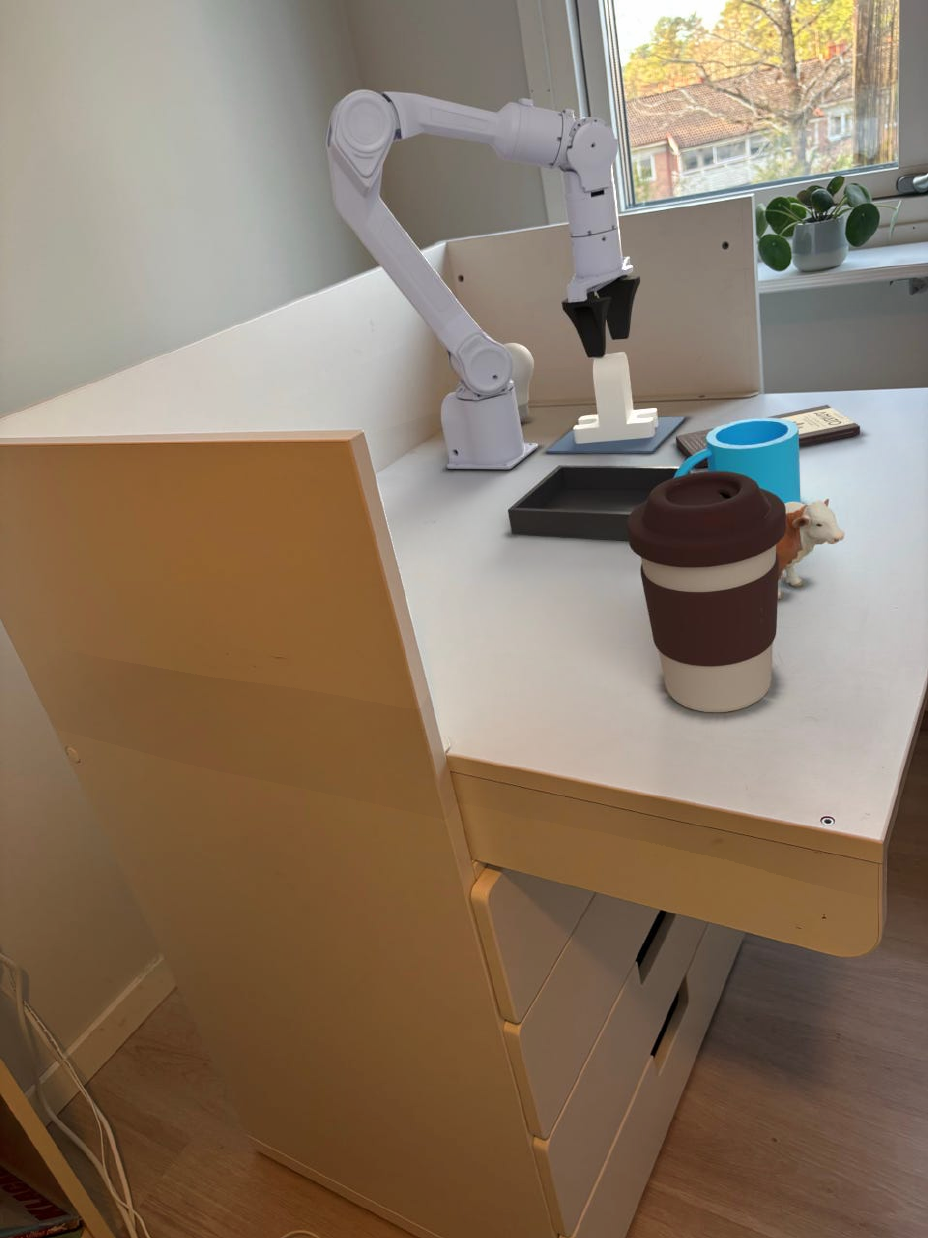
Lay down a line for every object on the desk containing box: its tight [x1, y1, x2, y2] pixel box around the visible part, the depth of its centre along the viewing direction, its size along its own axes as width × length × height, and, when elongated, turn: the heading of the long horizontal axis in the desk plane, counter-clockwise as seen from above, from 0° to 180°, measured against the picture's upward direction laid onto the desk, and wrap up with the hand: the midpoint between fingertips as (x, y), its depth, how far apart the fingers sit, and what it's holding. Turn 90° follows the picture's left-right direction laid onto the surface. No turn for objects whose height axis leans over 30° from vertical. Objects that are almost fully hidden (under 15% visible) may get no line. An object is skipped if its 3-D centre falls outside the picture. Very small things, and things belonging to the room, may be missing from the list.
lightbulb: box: [502, 342, 535, 423], centre depth 128 cm, size 6×6×11 cm
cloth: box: [545, 416, 687, 454], centre depth 117 cm, size 14×12×1 cm
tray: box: [507, 464, 692, 542], centre depth 96 cm, size 15×12×3 cm
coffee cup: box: [627, 471, 786, 713], centre depth 62 cm, size 10×10×15 cm
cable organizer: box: [572, 351, 659, 444], centre depth 115 cm, size 5×10×10 cm, turn 72°
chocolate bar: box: [675, 404, 861, 469], centre depth 106 cm, size 9×1×18 cm
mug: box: [673, 417, 802, 504], centre depth 87 cm, size 12×8×8 cm
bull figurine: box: [776, 498, 845, 601], centre depth 74 cm, size 4×13×8 cm, turn 63°
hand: (608, 347), depth 115 cm, fingers open, 7 cm apart
